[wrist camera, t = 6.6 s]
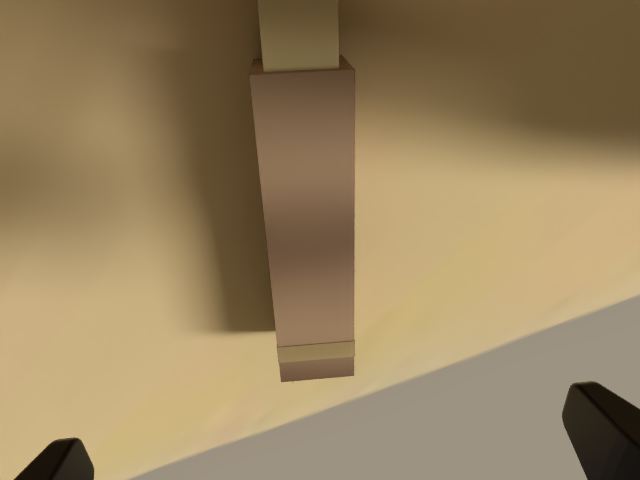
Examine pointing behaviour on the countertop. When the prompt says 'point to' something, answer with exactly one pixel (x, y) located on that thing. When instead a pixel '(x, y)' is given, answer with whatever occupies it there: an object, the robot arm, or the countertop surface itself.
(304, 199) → the tan long bar
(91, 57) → the countertop surface
